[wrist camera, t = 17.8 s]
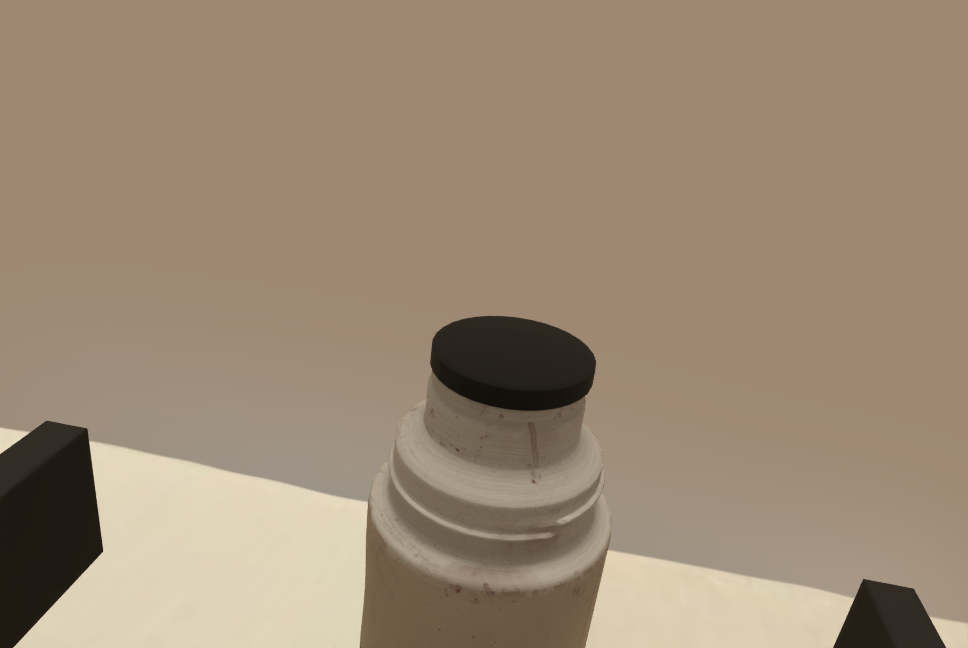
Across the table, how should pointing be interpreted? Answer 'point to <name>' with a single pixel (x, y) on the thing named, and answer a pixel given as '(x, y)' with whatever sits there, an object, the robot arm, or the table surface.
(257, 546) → the table surface
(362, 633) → the thermos bottle
